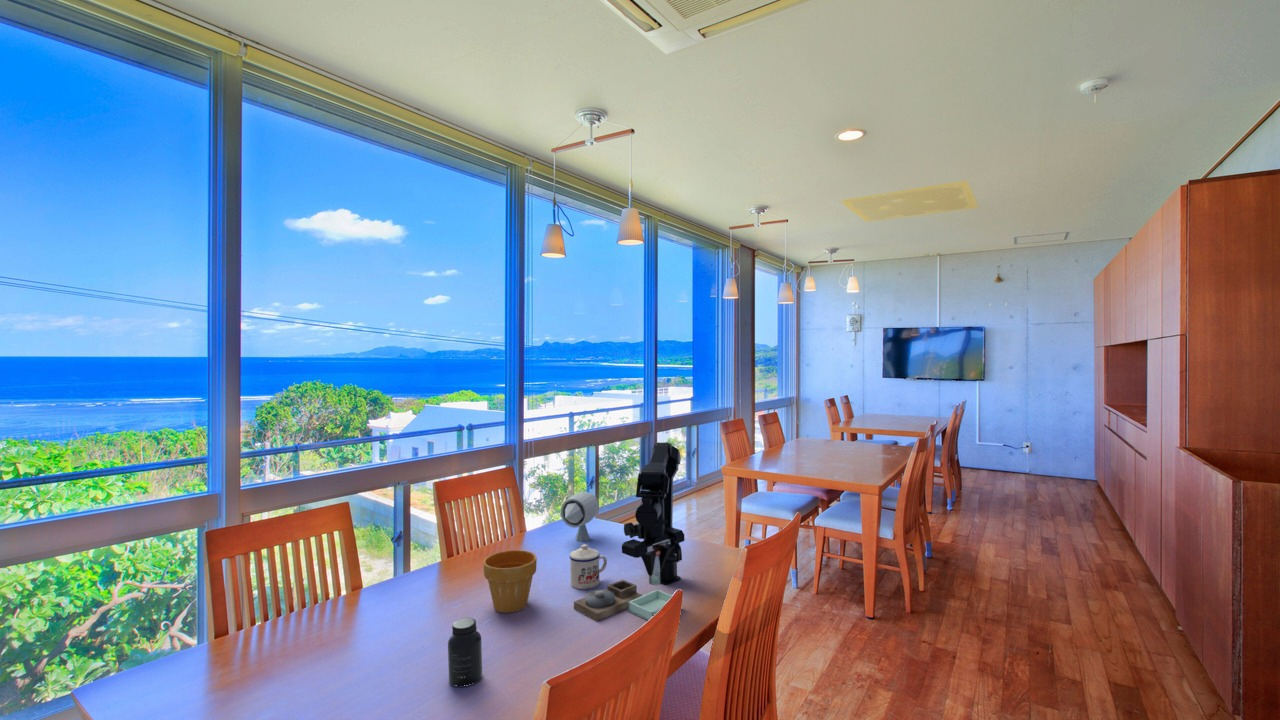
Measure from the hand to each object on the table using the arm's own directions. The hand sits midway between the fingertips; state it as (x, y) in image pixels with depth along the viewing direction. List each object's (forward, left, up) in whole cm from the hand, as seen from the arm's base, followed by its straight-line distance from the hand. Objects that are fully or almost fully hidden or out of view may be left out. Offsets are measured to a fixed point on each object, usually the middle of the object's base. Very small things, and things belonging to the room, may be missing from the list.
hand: (654, 573), depth 148 cm
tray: (0, 0, -10) cm, 10 cm away
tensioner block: (+7, -11, -10) cm, 16 cm away
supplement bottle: (+51, -6, -10) cm, 52 cm away
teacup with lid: (+1, -27, -10) cm, 29 cm away
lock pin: (0, 0, -3) cm, 2 cm away
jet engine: (-20, -60, -10) cm, 64 cm away
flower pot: (+26, -30, -10) cm, 41 cm away
